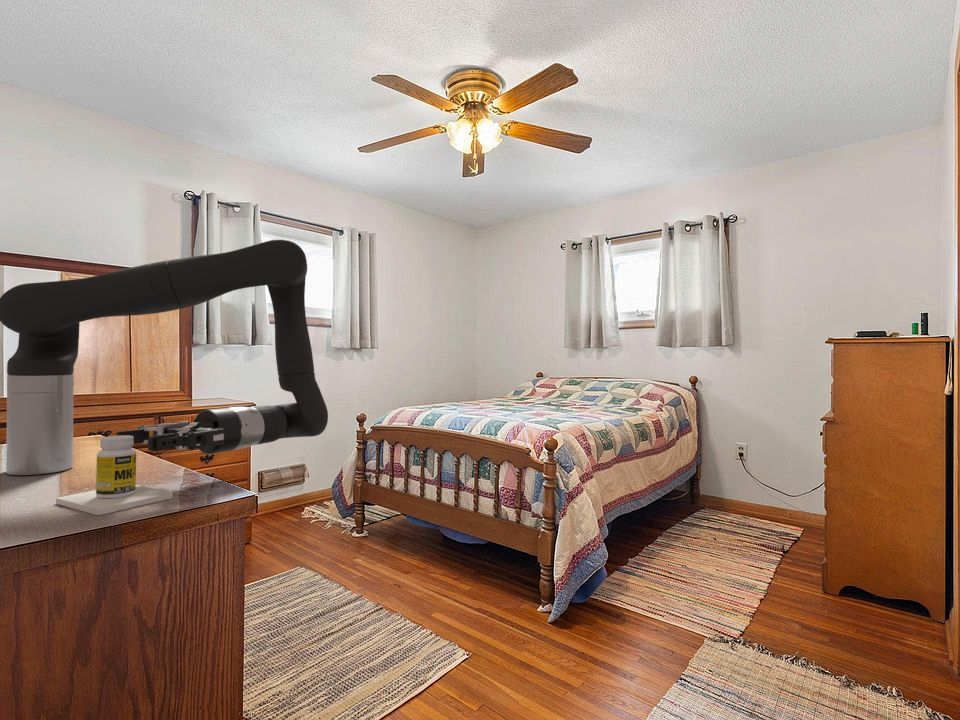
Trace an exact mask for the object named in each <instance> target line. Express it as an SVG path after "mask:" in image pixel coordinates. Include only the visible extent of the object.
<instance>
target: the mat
mask: <svg viewBox="0 0 960 720" xmlns="http://www.w3.org/2000/svg"><path fill="white" fill-rule="evenodd" d="M173 494H174V493H173V492H170V491H167V490H163V489H157V488H155V487H154V488H153V487H148V486H143V485H139V484H136V488H135V493H133V494H131V495H129V496H125V497H120V498H98V497H97V496H96V489H95V490H89V491H84V492H80V493H74V494H69V495H65V496H60V497H55V504H57V505H59V506H64V507H67V508H71V509H74V510H77V511H82V512H84V513H88V514H91V515H95V516H101V515H102V516H103V515H106V514H110V513H114V512H118V511H119V512H120V511H123V510H128V509H132V508H136V507H141V506H145V505H149V504H153V503H157V502H163V501H166V500H170V499H173V498H174V495H173Z"/></svg>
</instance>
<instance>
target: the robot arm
mask: <svg viewBox="0 0 960 720" xmlns="http://www.w3.org/2000/svg"><path fill="white" fill-rule="evenodd" d="M307 273H308V261H307V255H306V253H305V252H304V250H303V249H302V247H301V246H300V245H298V244H297V242H294V241H292V240H290V239H286V238H285V239H284V238H274V239H270V240H266V241H263V242H259V243H255V244H252V245H250V246H245V247H242V248H239V249H235V250H231V251H226V252H219V253H209V254H204V255H203V254H202V255H196V256H188V257H182V258H175V259H169V260H161V261H157V262H150V263H146V264H143V265H142V264H141V265H138V266H137V265H136V266H132V267H127V268H123V269H119V270H114V271H113V270H112V271H110V272H106V273H101V274H97V275H94V276H89V277H82V278H74V279H65V280H54V281H43V282H41V281H39V282H29V283H22V284H19V285H15V286H13V287H12V288H9V289H8V290H7V291H5V292H4V293H3V294H2V295H1V296H0V323H1V324H2V325H3V326H4V327H6V328H7V329H8V330H11V331H12V332H15V333H17V334H18V342H17V349H16V350H15V352H14V353H13V355H12V356H11V357H10V358H9V359H7V360H8V361H7V363H6V454H5V455H6V457H5V459H6V461H5V462H6V465H5V470H6V473H5V474H7V475H11V476H31V475H43V474H52V473H57V472H63V471H66V470H70V469H72V468H73V464H74V463H73V461H74V460H73V459H74V455H73V454H74V367H75V363H76V362H77V359H78V355H79V346H80V345H79V344H80V343H79V342H80V325H81V324H80V323H82V322H86V321H89V320H94V319H100V318H108V317H109V318H110V317H128V316H129V317H132V316H144V315H145V316H146V315H152V314H153V315H154V314H160V313H168V312H172V311H177V310H182V309H187V308H190V307H194V306H198V305H201V304H204V303H206V302H208V301H211V300H213V299H216V298H218V297H221V296H223V295H225V294H227V293H230V292H233V291H238V290H242V289H248V288H255V287H261V286H263V287H265V286H267V290H268V293H269V296H270V297H269V298H270V300H271V304H272V311H273V318H274V345H275V346H274V349H275V350H274V351H275V361H276V369H277V375H278V383H279V387H280V389H282V390H283V391H285V392H289V393H291V394H292V395H293V397H294V400H295V402H290V403H283V404H282V403H281V404H276V405H259V406H258V405H256V406H232V407H231V406H230V407H222V408H221V407H219V408H210V409H203V410H201V411H200V412H199V413H198V414H197V415H196V416H195V418H194V420H193V422H190V420H189V421H188V420H186V421H185V420H183V421H178V422H170V423H169V422H168V423H159V424H151V425H150V424H148V425H140V426H138V429H129V430H119V431H116V433H115V436H121V435H129V436H133V437H134V444H133V445H138V444H143V445H146V444H147V451H149V452H159V451H167V450H174V449H177V450H190V451H194V450H197V449H198V450H199V451H200V452H201V453H203V454H206V455H213V454H218V453H224V452H229V451H235V450H236V451H237V450H243V449H246V448H248V447H252V446H256V445H263V444H267V443H273V442H276V441H278V440H281V439H288V438H307V437H308V438H309V437H311V438H312V437H317V436H320V435H321V434H323V432H324V431H325V430H326V428H327V425H328V422H329V414H328V413H329V412H328V408H327V405H326V401H325V399H324V397H323V395H322V391H321V389H320V386H319V384H318V382H317V379H316V374H315V366H314V357H313V349H312V344H311V338H310V333H309V327H308V323H307V315H306V314H307V313H306V305H305V297H306V296H305V293H306V291H305V290H306V276H307ZM150 432H152V435H150Z"/></svg>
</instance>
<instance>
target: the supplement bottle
mask: <svg viewBox="0 0 960 720" xmlns="http://www.w3.org/2000/svg"><path fill="white" fill-rule="evenodd" d="M99 444H100V445H99V446H100V451H98V452H97V454H96V472H95V473H96V479H95V480H96V481H95V490H96V496H97V497H98V498H120V497H125V496H129V495H131V494H133V493H135V488H136V485H137V483H136V482H137V481H136V480H137V479H136V477H137V451H136V449H135V448H133V447H134V445H135V444H134V437H133V436H129V435H121V436H116V435H110V436H109V435H108V436H104V437H101V438H100V443H99Z"/></svg>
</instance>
